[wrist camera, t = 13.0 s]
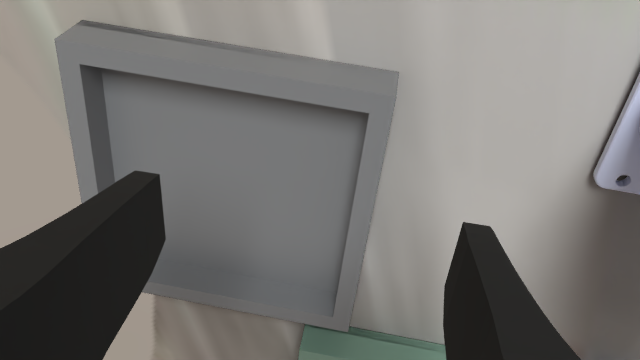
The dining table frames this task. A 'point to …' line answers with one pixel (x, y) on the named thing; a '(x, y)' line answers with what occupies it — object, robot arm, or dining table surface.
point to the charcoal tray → (235, 162)
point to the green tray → (364, 346)
